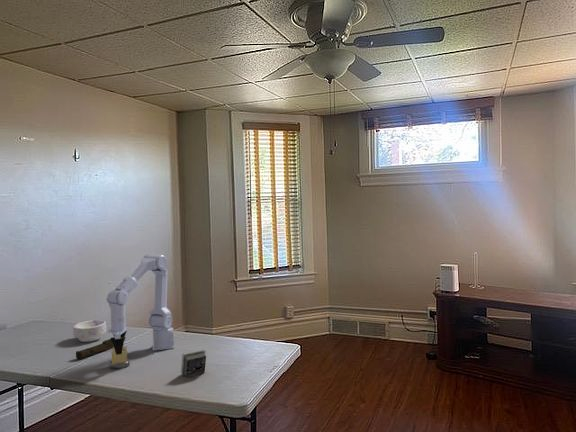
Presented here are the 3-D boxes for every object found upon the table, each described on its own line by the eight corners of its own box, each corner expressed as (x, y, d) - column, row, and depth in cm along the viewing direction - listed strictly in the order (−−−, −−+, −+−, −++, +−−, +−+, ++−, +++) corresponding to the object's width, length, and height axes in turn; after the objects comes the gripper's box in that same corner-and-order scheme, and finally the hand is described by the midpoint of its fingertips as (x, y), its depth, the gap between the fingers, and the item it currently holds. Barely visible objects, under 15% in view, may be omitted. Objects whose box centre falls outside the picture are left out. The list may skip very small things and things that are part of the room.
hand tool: (80, 361, 188) (80, 350, 188) (75, 359, 191) (75, 349, 190) (118, 348, 204) (118, 338, 204) (113, 347, 206) (113, 337, 206)
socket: (127, 358, 184) (126, 344, 184) (126, 362, 179) (126, 348, 179) (113, 360, 183) (112, 345, 182) (112, 364, 177) (111, 350, 177)
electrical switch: (203, 369, 175) (203, 347, 174) (208, 374, 171) (208, 352, 170) (180, 374, 170) (180, 352, 169) (185, 380, 166) (185, 357, 165)
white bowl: (66, 342, 215) (66, 326, 214) (91, 333, 229) (90, 318, 228) (89, 345, 209) (88, 329, 209) (113, 336, 223) (112, 321, 223)
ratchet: (129, 368, 178) (128, 356, 178) (109, 370, 176) (108, 358, 176) (131, 352, 198) (131, 341, 198) (113, 354, 195) (113, 343, 195)
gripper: (109, 315, 186) (110, 346, 186) (106, 324, 172) (107, 358, 173) (127, 313, 188) (128, 344, 189) (125, 322, 174) (126, 355, 175)
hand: (119, 351), depth 181 cm, fingers open, 7 cm apart
